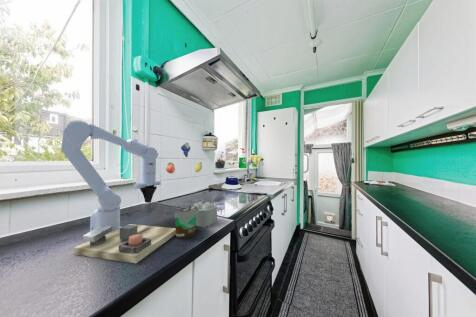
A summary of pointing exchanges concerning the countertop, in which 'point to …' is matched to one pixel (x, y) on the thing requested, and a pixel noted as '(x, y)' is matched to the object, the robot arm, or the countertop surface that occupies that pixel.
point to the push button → (135, 240)
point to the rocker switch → (97, 233)
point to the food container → (186, 221)
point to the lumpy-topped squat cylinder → (206, 214)
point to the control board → (126, 244)
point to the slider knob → (127, 231)
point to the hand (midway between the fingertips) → (148, 202)
